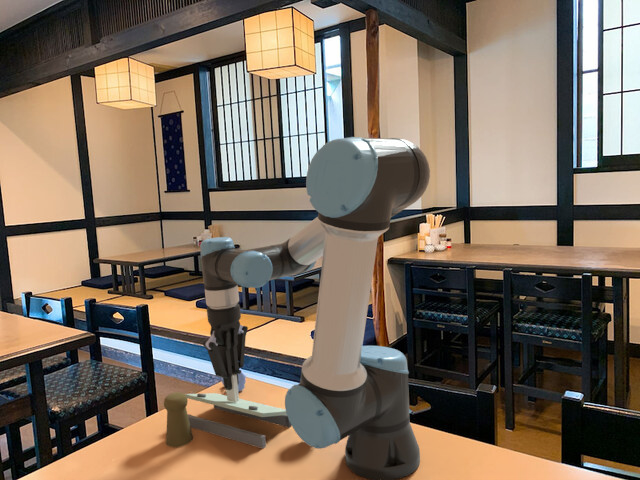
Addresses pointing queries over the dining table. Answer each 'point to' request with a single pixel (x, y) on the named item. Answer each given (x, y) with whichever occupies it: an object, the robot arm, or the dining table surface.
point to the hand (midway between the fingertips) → (233, 400)
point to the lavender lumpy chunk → (241, 380)
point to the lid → (238, 404)
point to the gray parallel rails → (235, 432)
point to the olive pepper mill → (177, 420)
